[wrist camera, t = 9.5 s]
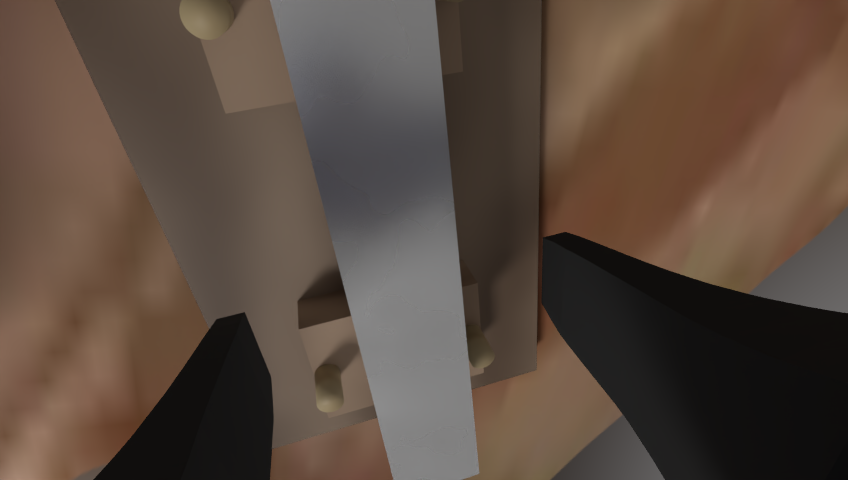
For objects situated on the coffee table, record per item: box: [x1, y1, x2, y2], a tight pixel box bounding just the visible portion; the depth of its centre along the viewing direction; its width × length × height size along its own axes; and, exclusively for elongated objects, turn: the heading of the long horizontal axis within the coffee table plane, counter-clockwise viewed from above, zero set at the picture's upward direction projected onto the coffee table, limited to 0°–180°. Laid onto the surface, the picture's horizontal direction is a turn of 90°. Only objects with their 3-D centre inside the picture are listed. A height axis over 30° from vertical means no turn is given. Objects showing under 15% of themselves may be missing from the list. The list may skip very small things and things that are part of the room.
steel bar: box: [270, 0, 479, 480], centre depth 13 cm, size 16×3×5 cm, turn 7°
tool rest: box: [55, 0, 542, 449], centre depth 16 cm, size 14×24×4 cm, turn 7°
